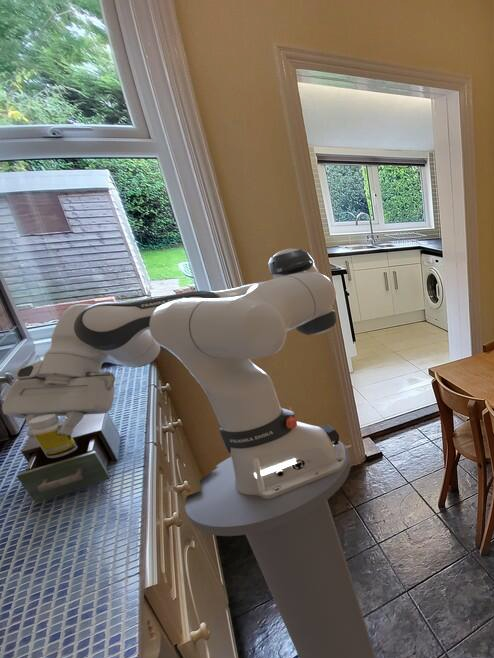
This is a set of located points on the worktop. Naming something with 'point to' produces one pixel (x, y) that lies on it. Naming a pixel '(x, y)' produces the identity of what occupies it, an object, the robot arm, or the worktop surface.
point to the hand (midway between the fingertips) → (48, 435)
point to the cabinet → (87, 435)
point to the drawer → (66, 470)
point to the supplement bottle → (51, 436)
